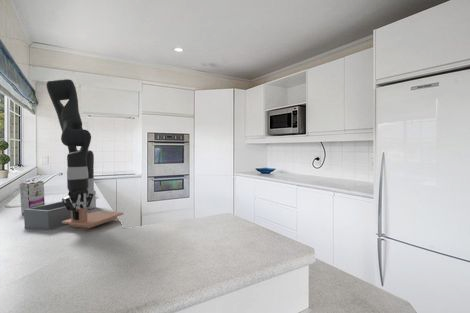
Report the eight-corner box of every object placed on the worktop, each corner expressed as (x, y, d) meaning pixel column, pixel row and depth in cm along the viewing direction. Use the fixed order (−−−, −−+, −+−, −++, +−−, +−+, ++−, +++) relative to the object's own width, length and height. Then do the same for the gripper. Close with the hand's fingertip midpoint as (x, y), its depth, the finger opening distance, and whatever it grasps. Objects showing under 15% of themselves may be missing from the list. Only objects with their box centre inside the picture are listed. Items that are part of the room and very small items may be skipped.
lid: (98, 215, 127) (97, 199, 127) (123, 217, 123) (123, 200, 122) (61, 226, 109) (61, 208, 109) (90, 229, 105) (89, 210, 104)
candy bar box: (36, 209, 151) (35, 180, 150) (45, 209, 150) (44, 180, 150) (20, 213, 139) (19, 183, 139) (29, 213, 139) (28, 183, 139)
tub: (63, 217, 131) (62, 201, 130) (84, 218, 126) (84, 202, 126) (24, 227, 113) (23, 209, 113) (48, 230, 109) (47, 211, 109)
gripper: (84, 175, 116) (86, 214, 116) (55, 179, 102) (56, 223, 103) (98, 176, 114) (99, 215, 114) (69, 179, 100) (71, 224, 101)
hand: (79, 219), depth 108 cm, fingers closed on lid
